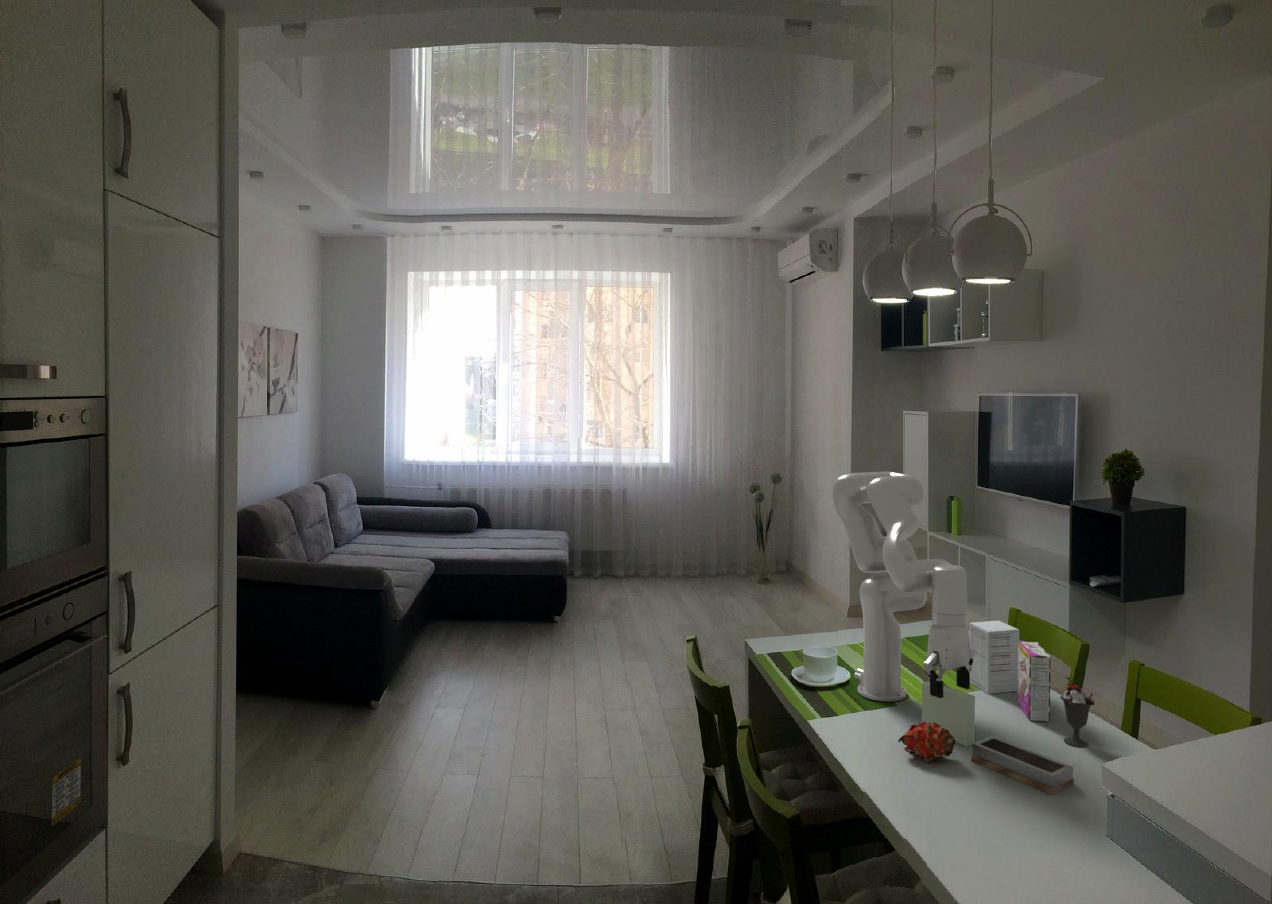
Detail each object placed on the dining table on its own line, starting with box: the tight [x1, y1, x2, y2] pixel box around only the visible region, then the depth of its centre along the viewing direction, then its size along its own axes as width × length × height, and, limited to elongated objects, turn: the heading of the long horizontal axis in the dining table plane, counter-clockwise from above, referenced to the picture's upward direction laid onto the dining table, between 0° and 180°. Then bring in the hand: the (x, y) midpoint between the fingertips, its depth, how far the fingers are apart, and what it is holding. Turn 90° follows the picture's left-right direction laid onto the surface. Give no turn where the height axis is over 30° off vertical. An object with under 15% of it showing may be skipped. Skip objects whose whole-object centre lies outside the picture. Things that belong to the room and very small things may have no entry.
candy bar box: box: [1017, 641, 1052, 723], centre depth 198 cm, size 11×5×16 cm, turn 168°
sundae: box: [1060, 676, 1095, 748], centre depth 181 cm, size 7×7×15 cm
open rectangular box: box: [970, 735, 1075, 796], centre depth 169 cm, size 18×8×4 cm, turn 33°
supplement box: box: [968, 620, 1020, 695], centre depth 216 cm, size 10×9×17 cm
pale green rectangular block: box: [921, 680, 976, 747], centre depth 187 cm, size 12×3×11 cm, turn 33°
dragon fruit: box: [897, 721, 957, 762], centre depth 176 cm, size 8×8×12 cm
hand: (950, 692), depth 186 cm, fingers open, 9 cm apart
